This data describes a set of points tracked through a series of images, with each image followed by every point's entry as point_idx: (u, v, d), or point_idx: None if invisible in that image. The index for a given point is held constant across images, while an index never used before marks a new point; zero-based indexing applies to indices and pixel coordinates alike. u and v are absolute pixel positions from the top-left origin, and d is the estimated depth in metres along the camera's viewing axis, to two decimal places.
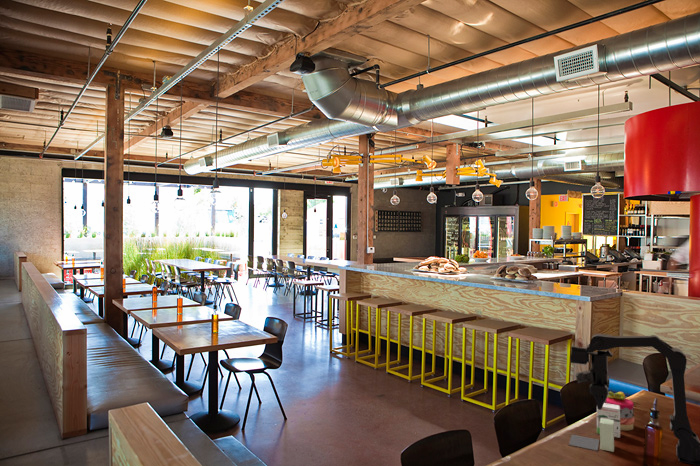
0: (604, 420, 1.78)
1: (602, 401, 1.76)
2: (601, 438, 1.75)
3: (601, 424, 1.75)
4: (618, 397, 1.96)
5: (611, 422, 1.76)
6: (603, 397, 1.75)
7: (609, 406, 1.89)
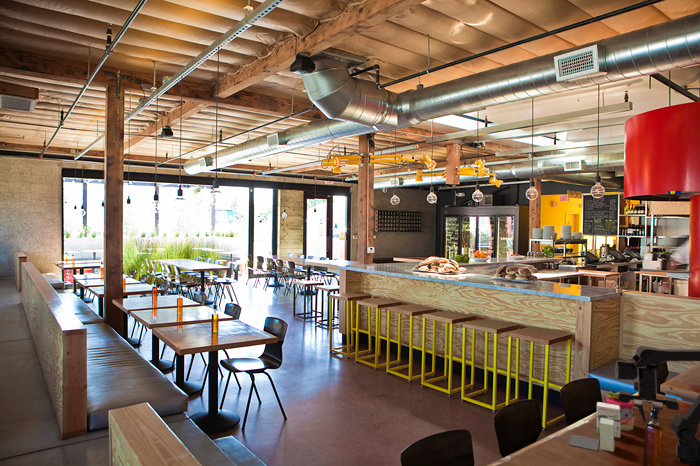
0: (604, 420, 1.78)
1: (641, 413, 1.70)
2: (601, 438, 1.75)
3: (601, 424, 1.75)
4: (618, 397, 1.96)
5: (611, 422, 1.76)
6: None
7: (609, 406, 1.89)
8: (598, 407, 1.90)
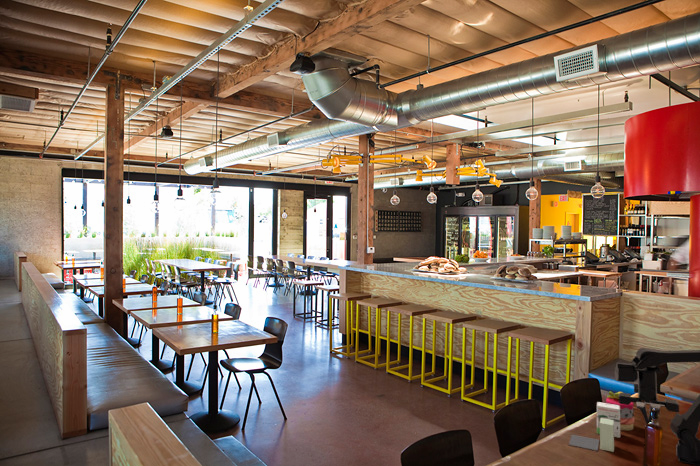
0: (604, 420, 1.78)
1: (643, 415, 1.70)
2: (601, 438, 1.75)
3: (601, 424, 1.75)
4: (618, 397, 1.96)
5: (611, 422, 1.76)
6: None
7: (609, 406, 1.89)
8: (598, 407, 1.90)
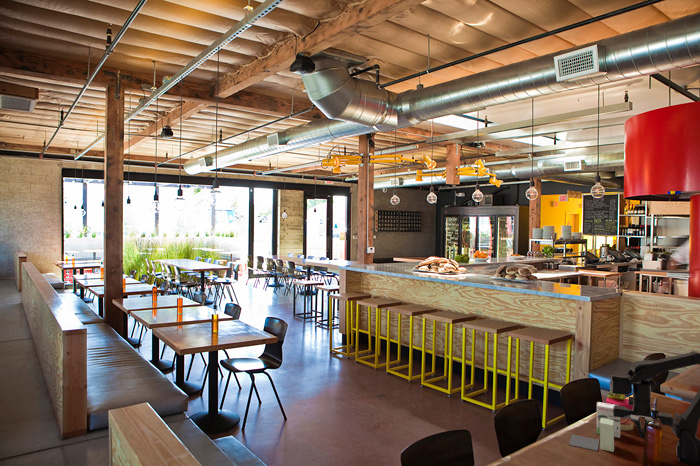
0: (604, 420, 1.78)
1: None
2: (601, 438, 1.75)
3: (601, 424, 1.75)
4: (618, 397, 1.96)
5: (611, 422, 1.76)
6: None
7: (609, 406, 1.89)
8: (598, 407, 1.90)
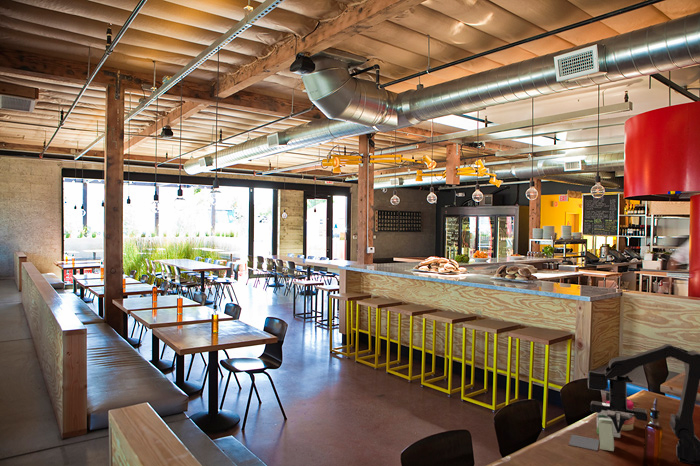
0: (602, 420, 1.78)
1: None
2: (600, 438, 1.75)
3: (600, 424, 1.76)
4: None
5: (609, 421, 1.76)
6: None
7: None
8: None
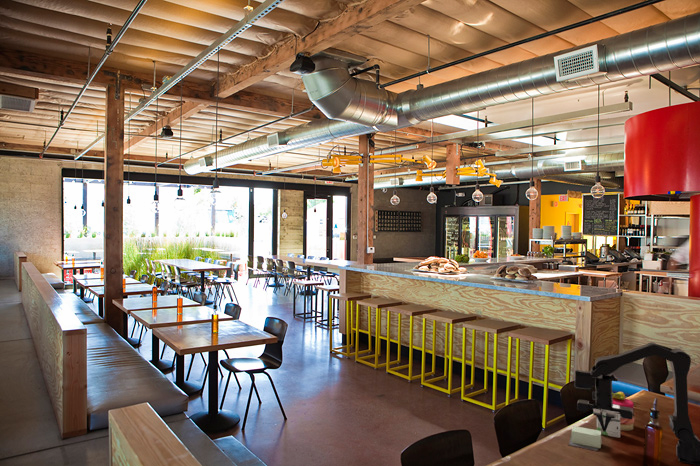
0: None
1: None
2: (588, 444, 1.78)
3: (572, 441, 1.81)
4: (618, 397, 1.96)
5: (572, 430, 1.83)
6: None
7: None
8: None
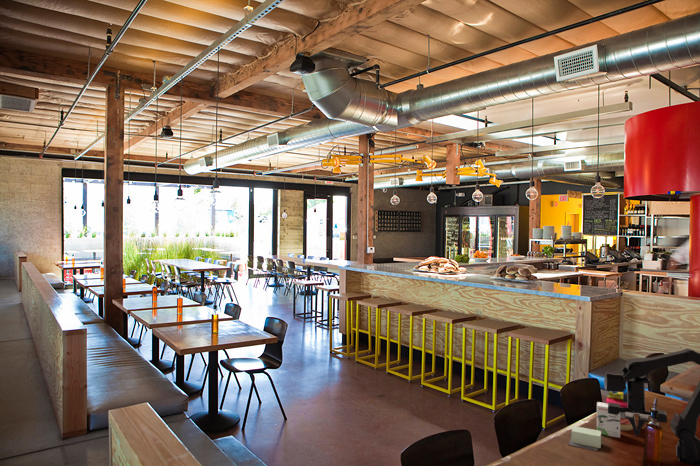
0: None
1: (632, 425, 1.72)
2: (588, 444, 1.78)
3: (572, 441, 1.81)
4: (618, 397, 1.96)
5: (572, 430, 1.83)
6: None
7: None
8: (598, 407, 1.90)
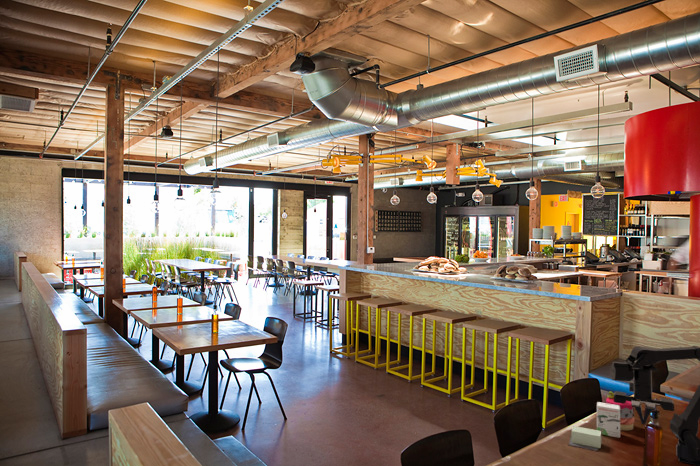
0: None
1: (638, 414, 1.69)
2: (588, 444, 1.78)
3: (572, 441, 1.81)
4: None
5: (572, 430, 1.83)
6: None
7: (609, 406, 1.89)
8: (598, 407, 1.90)
